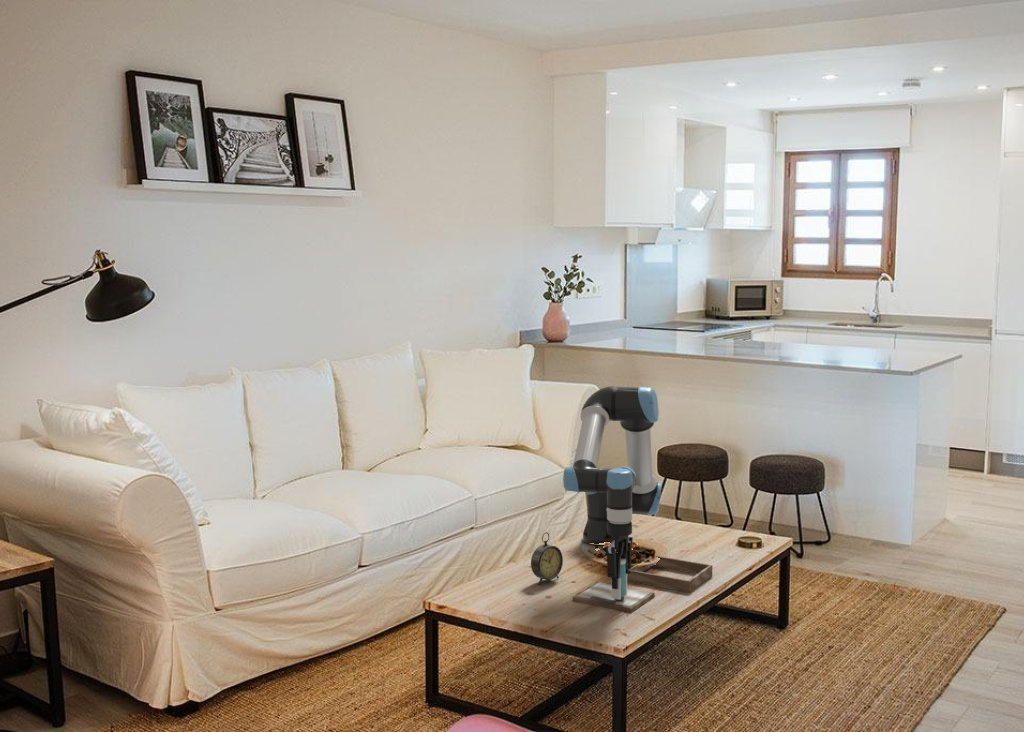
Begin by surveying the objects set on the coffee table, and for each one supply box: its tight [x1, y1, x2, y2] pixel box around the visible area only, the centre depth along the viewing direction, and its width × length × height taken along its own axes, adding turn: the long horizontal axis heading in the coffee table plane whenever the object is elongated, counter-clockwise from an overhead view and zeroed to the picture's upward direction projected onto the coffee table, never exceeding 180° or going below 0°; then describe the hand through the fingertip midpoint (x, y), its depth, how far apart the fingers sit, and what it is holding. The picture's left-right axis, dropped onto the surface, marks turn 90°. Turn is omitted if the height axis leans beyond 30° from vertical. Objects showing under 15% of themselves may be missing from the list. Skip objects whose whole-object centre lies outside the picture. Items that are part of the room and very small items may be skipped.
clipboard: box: [572, 581, 656, 613], centre depth 319 cm, size 16×20×2 cm
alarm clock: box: [530, 531, 564, 586], centre depth 335 cm, size 11×5×16 cm, turn 133°
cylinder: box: [615, 558, 626, 601], centre depth 313 cm, size 4×4×12 cm
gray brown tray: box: [627, 555, 713, 593], centre depth 337 cm, size 19×22×4 cm
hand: (619, 596), depth 313 cm, fingers closed on cylinder, 3 cm apart
